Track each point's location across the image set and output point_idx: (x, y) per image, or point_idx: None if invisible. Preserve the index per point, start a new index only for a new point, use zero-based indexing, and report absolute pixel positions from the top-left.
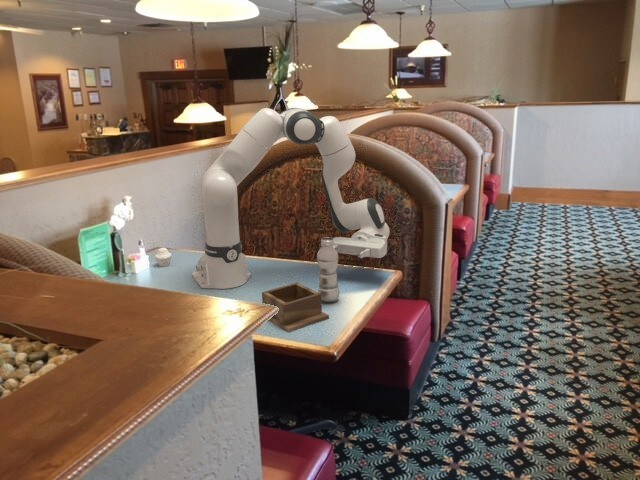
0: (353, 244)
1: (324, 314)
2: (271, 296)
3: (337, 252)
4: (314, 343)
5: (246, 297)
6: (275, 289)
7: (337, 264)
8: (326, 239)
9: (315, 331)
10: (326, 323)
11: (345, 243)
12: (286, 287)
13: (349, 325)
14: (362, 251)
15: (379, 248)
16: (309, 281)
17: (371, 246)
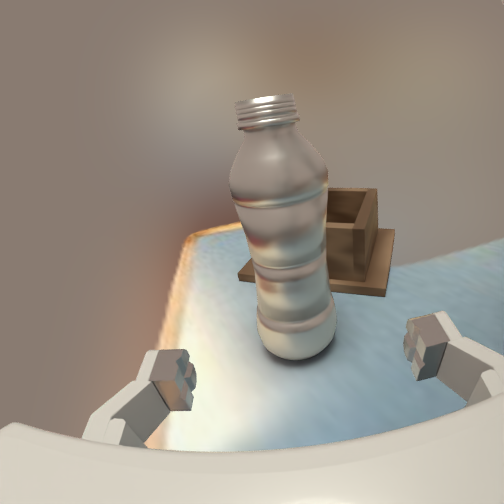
0: (300, 459)
1: (249, 271)
2: (342, 189)
3: (417, 372)
4: (222, 232)
5: (482, 254)
6: (368, 199)
7: (244, 228)
8: (283, 104)
9: (239, 247)
10: (233, 268)
11: (432, 432)
12: (359, 211)
13: (184, 281)
14: (147, 382)
15: (6, 428)
16: None
17: (55, 445)
